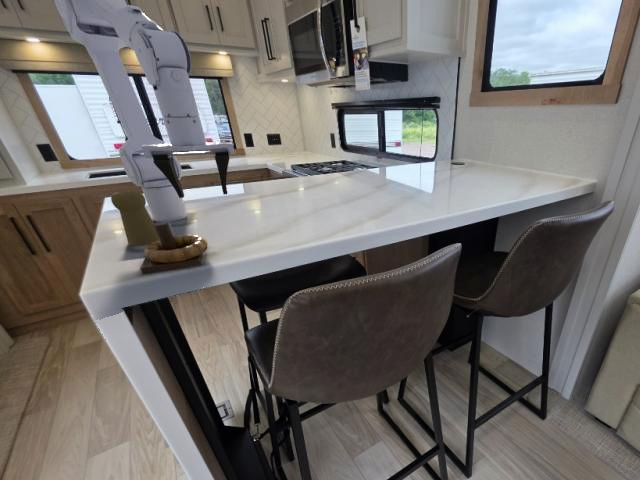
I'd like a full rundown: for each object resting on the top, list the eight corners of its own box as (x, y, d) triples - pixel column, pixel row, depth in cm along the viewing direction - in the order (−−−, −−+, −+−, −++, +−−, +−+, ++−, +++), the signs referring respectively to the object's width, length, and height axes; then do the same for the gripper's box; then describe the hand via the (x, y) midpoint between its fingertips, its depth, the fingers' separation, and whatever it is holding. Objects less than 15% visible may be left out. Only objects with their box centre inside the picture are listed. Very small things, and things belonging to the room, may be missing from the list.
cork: (170, 243, 69) (150, 189, 64) (139, 253, 65) (114, 196, 59) (155, 238, 72) (134, 186, 66) (123, 247, 67) (98, 192, 62)
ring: (151, 248, 64) (147, 237, 63) (209, 240, 67) (206, 230, 66) (142, 268, 56) (137, 257, 55) (207, 259, 60) (204, 247, 59)
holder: (151, 255, 64) (135, 219, 60) (203, 248, 67) (191, 213, 63) (142, 274, 57) (125, 234, 53) (201, 265, 60) (188, 227, 56)
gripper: (126, 118, 52) (158, 203, 59) (226, 117, 58) (244, 196, 65) (135, 116, 58) (163, 194, 65) (226, 115, 63) (242, 188, 70)
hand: (204, 195), depth 65 cm, fingers open, 7 cm apart
